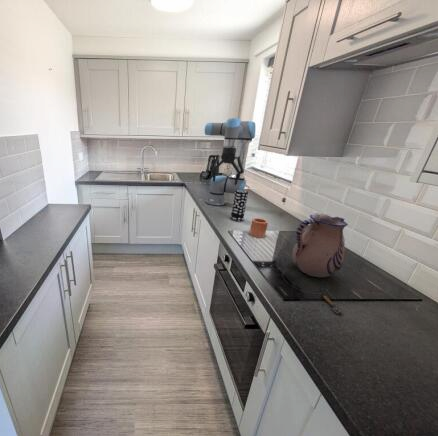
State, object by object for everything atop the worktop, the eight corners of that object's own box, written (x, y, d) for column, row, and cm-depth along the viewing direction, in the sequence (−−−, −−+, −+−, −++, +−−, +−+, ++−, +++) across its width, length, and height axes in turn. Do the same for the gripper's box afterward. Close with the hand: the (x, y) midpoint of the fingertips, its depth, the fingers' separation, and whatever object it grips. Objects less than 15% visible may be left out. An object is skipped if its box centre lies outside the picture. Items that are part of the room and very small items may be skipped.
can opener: (321, 297, 84) (322, 294, 84) (328, 297, 84) (329, 295, 84) (335, 315, 76) (337, 312, 76) (343, 316, 76) (344, 313, 75)
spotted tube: (244, 221, 156) (250, 193, 149) (232, 221, 156) (237, 192, 149) (240, 217, 164) (245, 190, 157) (228, 217, 164) (233, 189, 157)
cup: (250, 230, 142) (253, 217, 138) (265, 234, 137) (268, 220, 134) (248, 235, 135) (251, 221, 132) (263, 239, 131) (267, 224, 128)
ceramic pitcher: (347, 279, 95) (369, 224, 86) (309, 288, 89) (329, 229, 80) (307, 258, 111) (323, 209, 102) (273, 265, 105) (286, 213, 96)
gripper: (207, 146, 138) (203, 181, 145) (251, 148, 125) (244, 187, 132) (211, 145, 144) (207, 179, 151) (253, 148, 131) (247, 184, 138)
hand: (224, 183), depth 142 cm, fingers open, 13 cm apart
